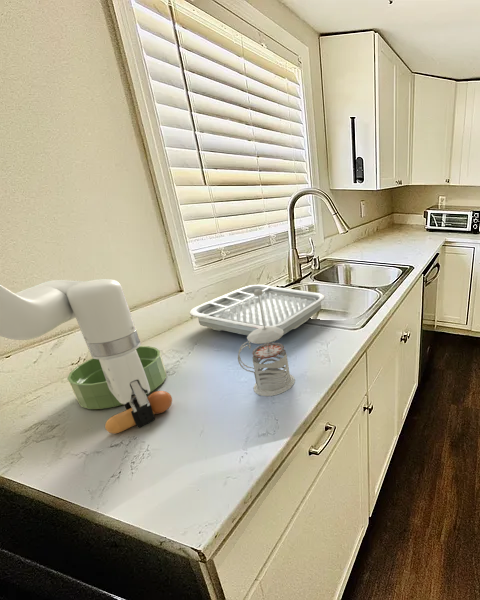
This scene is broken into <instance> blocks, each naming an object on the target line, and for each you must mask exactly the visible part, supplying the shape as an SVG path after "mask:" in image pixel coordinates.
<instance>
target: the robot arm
mask: <svg viewBox="0 0 480 600" xmlns="http://www.w3.org/2000/svg"><path fill="white" fill-rule="evenodd" d="M73 319H76V322H77V324H78V326H79V330H80V332H81V335H82V336H83V339H84V341H85V344H86V347H87V349H88V353H89V354H90V357H91V359H92V358H93V359H98V360H99V361H100V364H101V367H102V370H103V373H104V376H105V379H106V382H107V385H108V387H109V390H110V391H111V393H112V394H113V395H114V396H115V398H116V399H117V400H118V401H119V402H120V403H121V404H123V405H124V408H125V411H126V410H128V409H130V408H132V410H133V411H131V413H132V416H133V418H134V421H135V424H136V425H135V427H137V428H141V427H143V426H146V425H147V424H149V423H151V422H153V421H155V420H156V417H155V414H154V413H153V410H152V408H151V405H150V403H149V401H148V398H147V397H148V396H147V395H150V394H151V392H150V387H149V383H148V380H147V377H146V374H145V372H144V369H143V366H142V363H141V361H140V358H139V356H138V353H137V351H136V349H137V348H138V347H139V346H142V342H141V340H140V336H139V333H138V330H137V327H136V325H135V321H134V318H133V316H132V313H131V309H130V306H129V303H128V301H127V297H126V295H125V292H124V289H123V286H122V285H121V283H120V282H119V281H118V280H116V279H111V278H97V279H90V280H86V281H85V280H83V281H82V280H72V279H71V280H70V279H53V280H47V281H43V282H41V283H39V284H36V285H33V286H30V287H27V288H25V289H23V290H20V291H18V292H13V291H11V290H10V289H8V288H6V287H5V286H4V285H2V284H0V337H1V338H4V339H5V338H6V339H8V340H13V341H28V340H34V339H37V338H39V337H42V336H44V335H46V334H47V333H49V332H51V331H53V330H54V329H56V328H57V327H59V326H61V325H62V324H65V323H67V322H69V321H71V320H73ZM146 393H147V395H146Z"/></svg>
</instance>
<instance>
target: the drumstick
mask: <svg viewBox="0 0 480 600" xmlns="http://www.w3.org/2000/svg"><path fill="white" fill-rule="evenodd" d="M147 398H148V401H149V403H150V405H151V408H152V410H153V413H154V415H159V414H162V413H164V412H166V411H167V410H169V409H170V407H171V406H172V403H173V397H172V395H171V394H170V393H169V392H167V391H165V390H157V391H153V392H151V393H149V394H148V396H147ZM131 411H133V410H132V408H130V409H128V410H126V409H125V410H124V411H121V412H119V413H117V414H114V415H112V416H110V417H109V418H108V419H107V420H106V422H105V424H104V428H105V431H106V432H108V433H109V434H120V433H123V432H124V431H126V430H128V429H130V428H132V427H134V426H136V424H135V421H134V418H133V416H132V413H131Z"/></svg>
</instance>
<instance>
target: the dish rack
mask: <svg viewBox="0 0 480 600" xmlns="http://www.w3.org/2000/svg"><path fill="white" fill-rule="evenodd" d="M256 289H260V290H262V292H263V294H262V295H259V298H260V303H261V309H262V314H263V320H264V325H265V327H266V326H273V327H278V328H280V329H283V331H284V333H283V335H282V336H284V335H286V334H287V333H289V332H290V331H292V330H295V329H297V328H299V327H301V325H303V324H304V323H306V322H307V321H309V319H311V318H312V317H314V315H315V314H317V313H318V312H320V311H321V310H322V302H323V301H324V300H325V298H326V296H325V294H323V293H321V292H315V291H306V290H300V289H292V288H285V287H280V286H279V287H277V286H273V285H268V284H250V285H246V286H243V287H241V288H238V289H235V290H233V291H231V292H228V293H225V294H223V295H221V296H218V297H216V298H213V299H211V300H209V301H206V302H203V303H202V304H199V305H197V306H195V307H193V308H191V309H190V311H189V315H190V316H191V317H194V318H197V319H198V324H199V325H200V326H202V327H207V328H211V329H212V330H213V331H218V332H221V331H224V332H228V333H233V334H238V335H244V336H248V335H249V334H250V333H251V332H253V331H254V330H256V329H259V328H261V327H264V325H263V320H262V314H261V309H260V303H259V298H258V296H255V295H254V291H255V290H256Z"/></svg>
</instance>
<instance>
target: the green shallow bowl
mask: <svg viewBox="0 0 480 600" xmlns="http://www.w3.org/2000/svg"><path fill="white" fill-rule="evenodd" d="M136 351H137V353H138V356H139V358H140V361H141V363H142V366H143V369H144V372H145V374H146V377H147V380H148V383H149V387H150V393H153V392H154V391H155V390H156V389H158V388H159V387H160V386H161V385H162V384H163V383H164V382H165V380H166V378H167V369H166V366H165V363H164V360H163V357H162V353H161V350H159V349H158V348H157V347H154V346H149V345H140V346H139V347H138V348H137V349H136ZM66 379H67V382H68V384H69V386H70V388H71V391H72V393H73V395H74V397H75V400H76V401H77V403H78V405H79V406H80V407H81V408H85V409H87V410H103V409H110V408H116V407H119V406H123V405H124V404H121V403H120V402H119V401H118V400H117V399H116V398H115V396H114V395H113V394H112V393H111V391H110V390H109V387H108V385H107V382H106V379H105V376H104V373H103V370H102V367H101V364H100V361H99V360H98V359H93V358H92V357H91V358H90V359H88V360H85V361H84V362H83V363H81V364H79V365H77V366H75V367H74V369H72V371H70V372H69V374H68V376H67V378H66ZM147 395H148V394H147V393H146V396H147Z"/></svg>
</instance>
